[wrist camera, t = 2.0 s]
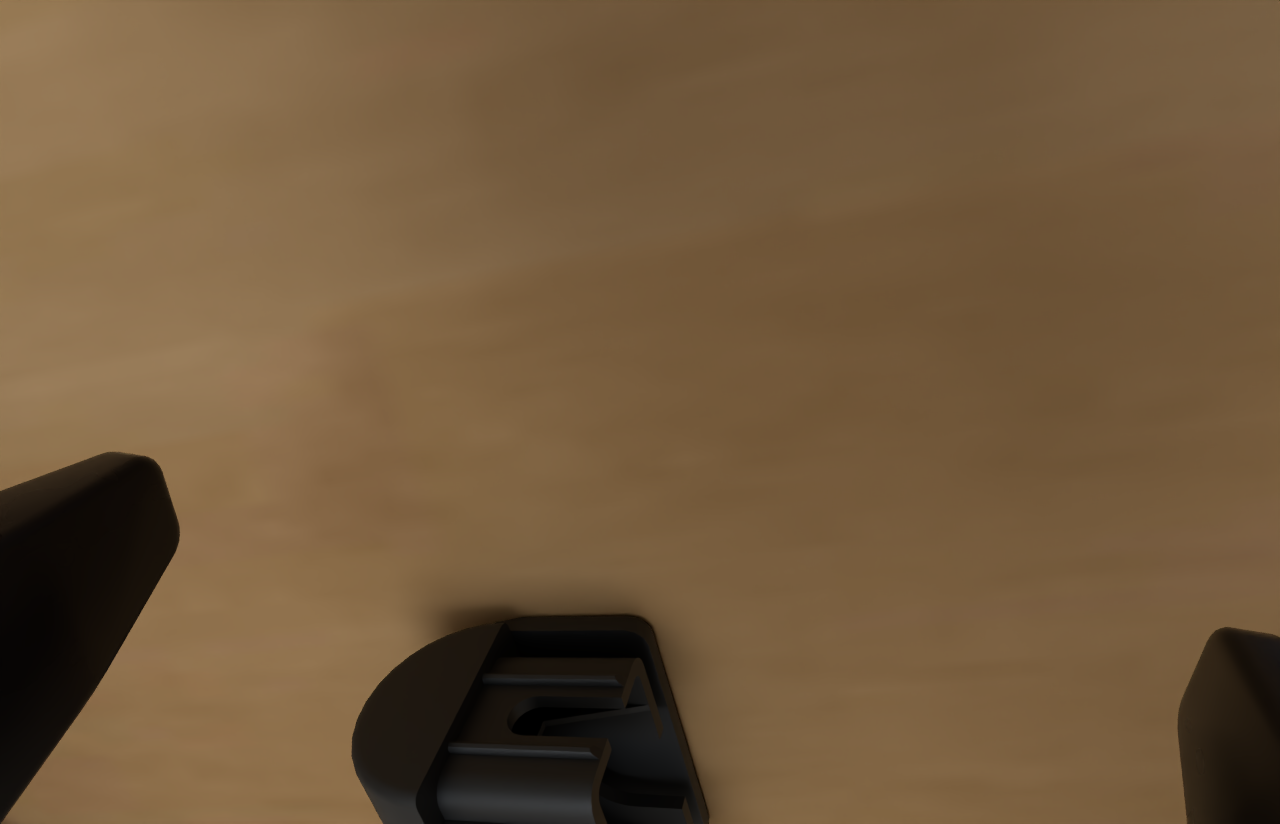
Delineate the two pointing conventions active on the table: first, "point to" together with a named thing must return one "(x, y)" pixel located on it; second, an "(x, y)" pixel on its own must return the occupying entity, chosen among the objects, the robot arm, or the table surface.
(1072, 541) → the table surface
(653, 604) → the table surface
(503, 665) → the end cap
